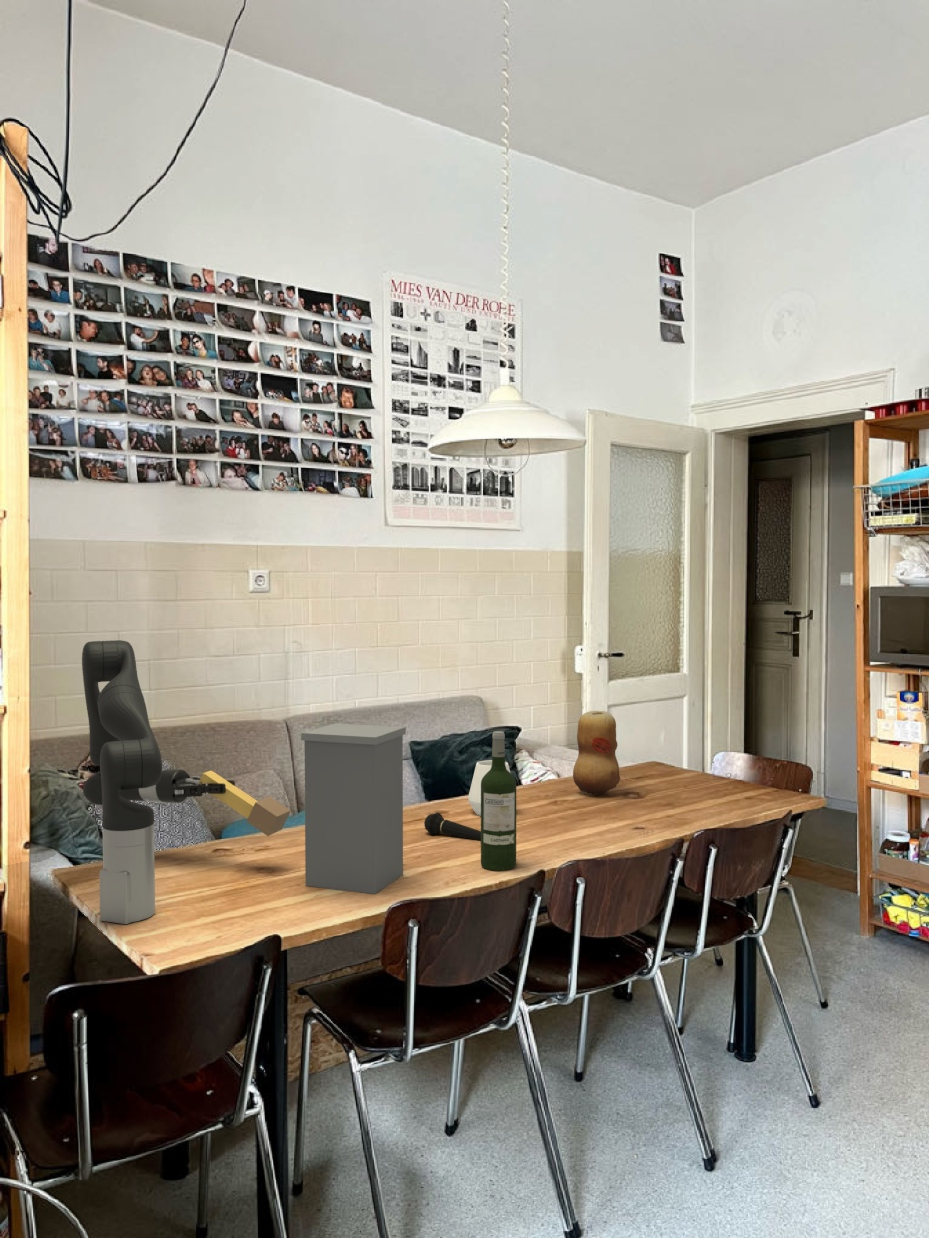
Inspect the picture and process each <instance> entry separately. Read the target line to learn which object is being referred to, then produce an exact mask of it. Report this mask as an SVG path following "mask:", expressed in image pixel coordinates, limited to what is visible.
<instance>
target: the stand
mask: <svg viewBox="0 0 929 1238" xmlns="http://www.w3.org/2000/svg"><path fill="white" fill-rule="evenodd" d="M406 730H407V729H406V726H394V725H393V726H390V725H389V726H388V725H373V724H357V723H355V724H352V723H331V724H328V725H326V726H321V727H318V728H315V729H312V730H308V731H304V732H301V734H300V740H301V741H304V853H305V854H304V856H305V858H304V859H305V861H304V863H305V864H304V865H305V867H304V868H305V869H304V870H305V873H304V874H305V875H304V876H305V887H310V888H311V887H313V888H319V889H320V888H321V889H329V890H337V891H346V892H353V893H354V892H355V893H361V894H362V893H363V894H370V895H376V894H378V893H379V892H380V891H382V890H383V889H385V888H386V887H388V886H389V885H391V884H392V883H394V882H395V881H396V880H397V878H398V879H399V878H400V877H402V876H403V875H404V805H403V804H404V799H403V797H404V795H403V794H404V792H403V790H404V787H403V786H404V785H403V783H404V779H403V778H404V776H403V775H404V774H403V769H404V768H403V767H404V766H403V762H404V761H403V760H404V759H403V757H404V756H403V753H404V752H403V751H404V750H403V748H404V747H403V742H404V739H403V738H404V735H406V734H407V733H406ZM381 889H382V890H381Z"/></svg>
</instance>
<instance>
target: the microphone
mask: <svg viewBox="0 0 929 1238" xmlns="http://www.w3.org/2000/svg"><path fill="white" fill-rule="evenodd" d="M423 826H424V830H425V831H426V832H428V833H429V834H430V835H431V836H435V834H436V835H439V834H444V835H449V836H451V837H453V838H458V837H459V838H464V839H468V840H473V839H474V841H480V842H481V830H479V829H475V828H472V827H469V826H467V825H465V824H461V823H458V822H455V821H452V820H448V819H445V818H444V817H443V815H442V814H441V813H439V812H436V813H431V814H428V815H427V816H426V818H425V820H424V824H423Z"/></svg>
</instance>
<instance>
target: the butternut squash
mask: <svg viewBox="0 0 929 1238" xmlns="http://www.w3.org/2000/svg"><path fill="white" fill-rule="evenodd" d="M576 741H577V747H578V755H577V759H576V761H575V763H574V766H573V768H572V769H573V770H572V779H573V782H574V784H575V786H576V787H578V790H580V791H581V792H584V793H585V792H586V793H587V794H590V795H595V796H597V795H598V796H599V795H600V796H603V795H604V794H606V793H608V792H609V791H612V790H613V789H615V788H616V787H617V786H618V784H619V782H620V781H621V777H620V765H619V762H618V760H617V756H616V750H617V748H618V741H617V723H616V719H615V717H614V716H613V715H612V714H611V713H609V712H608V711H605V710H591V711H588V712H584V713H583V714H582V715H581V716H580V717H579V719H578V723H577V733H576Z"/></svg>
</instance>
